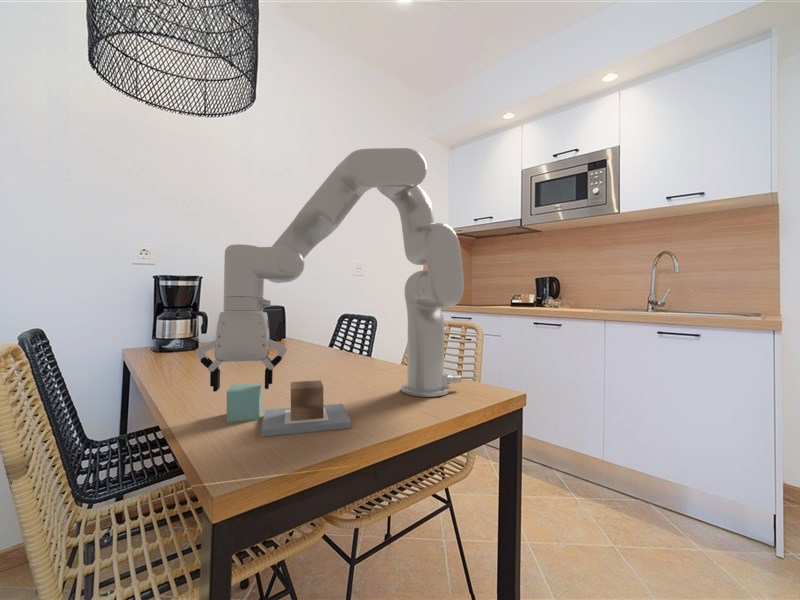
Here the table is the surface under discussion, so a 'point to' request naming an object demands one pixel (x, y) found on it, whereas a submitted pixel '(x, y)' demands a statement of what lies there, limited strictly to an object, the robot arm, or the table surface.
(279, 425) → the board
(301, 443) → the table surface
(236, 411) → the teal block
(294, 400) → the walnut block
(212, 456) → the table surface
